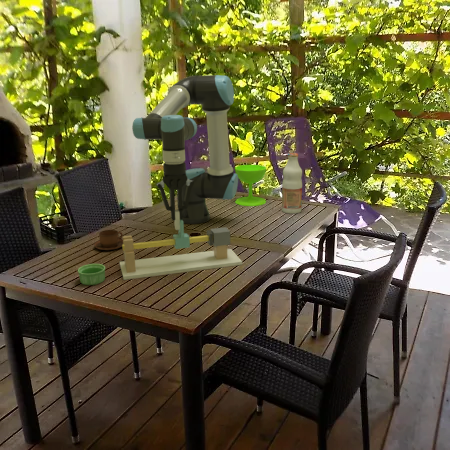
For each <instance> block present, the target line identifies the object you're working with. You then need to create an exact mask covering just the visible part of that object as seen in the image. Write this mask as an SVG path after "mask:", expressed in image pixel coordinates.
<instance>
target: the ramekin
mask: <svg viewBox="0 0 450 450" xmlns="http://www.w3.org/2000/svg"><path fill="white" fill-rule="evenodd" d="M77 273H78V276H79V281H80V283H81V284H82V285H85V286H95V285H99V284H101V283H103V282H104V281H105V280H106V266H105V264H102V263H101V264H100V263H90V264H84V265H81V266H80V267H78V269H77Z"/></svg>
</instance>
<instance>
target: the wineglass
mask: <svg viewBox="0 0 450 450" xmlns="http://www.w3.org/2000/svg"><path fill="white" fill-rule="evenodd" d="M234 170H235V174H237V175H238V180H240V181H241V182H243V183H245V184H248V194H247V195H248V196H241V197H239V198H237V199H236V200H235V201H234V202H235V204H236V205H239V206H242V207H258V206H263V205H265V204H266V203H267V201H266V199H265V198H264V197H263V198H262V197H261V196H260V197H259V196H254V195H253V184H257V183H258V182H260V181H261V180H262V179H263V178H264V177H265V175H266V172H267V167H266V165H260V164H243V165H236V166H235V167H234Z"/></svg>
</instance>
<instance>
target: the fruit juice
mask: <svg viewBox="0 0 450 450" xmlns="http://www.w3.org/2000/svg"><path fill="white" fill-rule="evenodd" d="M287 158H288V159H287V162H286V165H285V167H284V168H283V170H282V176H283V180H282V189H281V199H282V200H281V211H282V212H283V213H284V214H289V215H290V214H291V215H292V214H295V215H296V214H299V213H301V212H302V207H303V206H302V205H303V204H302V203H303V201H302V199H303V198H302V197H303V180H302V176H303V169H302V168H301V166H300V163H299V159H298V158H299V153H296V152H289V153H287Z"/></svg>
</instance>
